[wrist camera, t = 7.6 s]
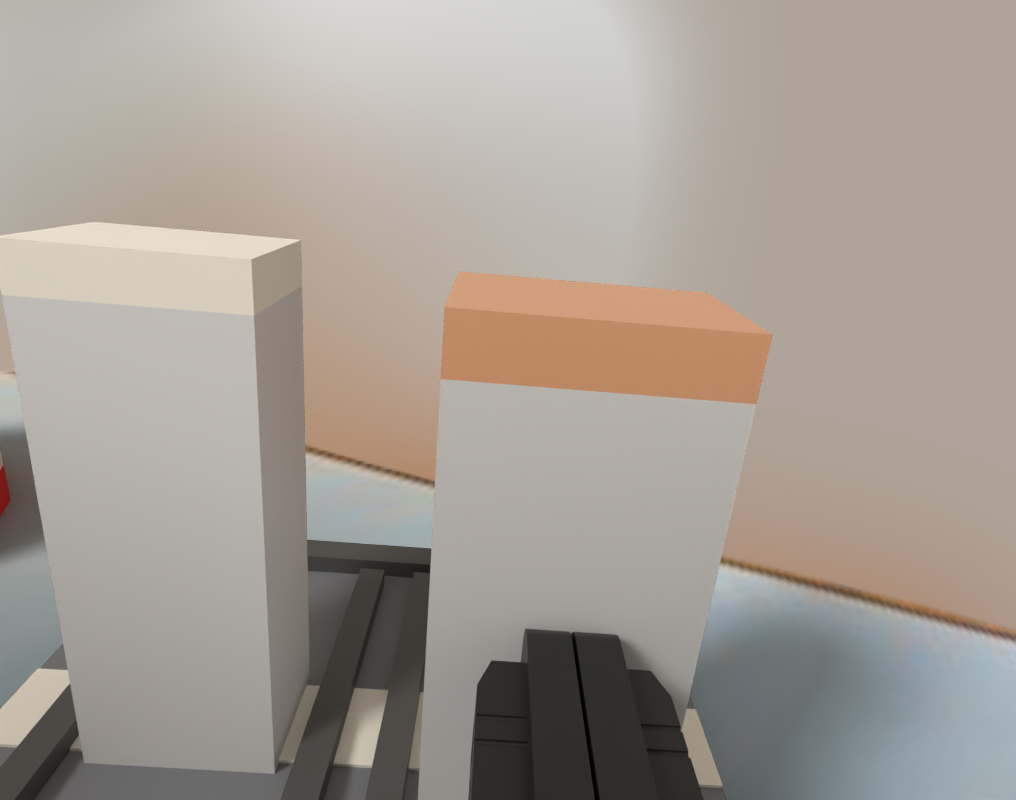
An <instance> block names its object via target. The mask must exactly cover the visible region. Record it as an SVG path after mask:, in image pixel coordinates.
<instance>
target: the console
mask: <svg viewBox="0 0 1016 800" xmlns="http://www.w3.org/2000/svg"><path fill="white" fill-rule="evenodd" d="M301 260H302V258H301V240H295V239H283V238H273V237H261V236H250V235H238V234H227V233H215V232H204V231H203V232H202V231H192V230H180V229H168V228H157V227H145V226H135V225H122V224H111V223H100V222H91V223H85V224H77V225H70V226H63V227H56V228H49V229H43V230H36V231H29V232H22V233H15V234H9V235H2V236H0V288H1V294H2V299H3V305H4V311H5V317H6V322H7V328H8V334H9V339H10V345H11V350H12V356H13V362H14V368H15V374H16V379H17V385H18V391H19V396H20V402H21V408H22V413H23V419H24V425H25V430H26V436H27V442H28V447H29V453H30V459H31V464H32V470H33V476H34V482H35V487H36V493H37V499H38V504H39V510H40V516H41V521H42V527H43V533H44V538H45V544H46V550H47V555H48V561H49V567H50V572H51V578H52V584H53V589H54V595H55V601H56V606H57V612H58V618H59V623H60V629H61V635H62V640H63V644H62V645H61V646H60V648H59V649H58V650H57V651H56V652H55V653H54V654H53V655H52V656H51V657H50V659H49V660H48V661H47V662H46V663H45V664H44V665H43V666H42V667H41V668H37V670H36V671H35V672H34V673H33V674H32V675H31V676H30V677H29V678H28V679H27V680H26V682H25V683H24V684H23V685H22V686H21V687H20V688H19V689H18V690H17V691H16V692H15V694H14V695H13V696H12V697H11V698H10V699H9V700H8V701H7V702H6V703H5V704H4V705H3V707H2V708H1V709H0V800H418V787H419V768H420V750H421V732H422V713H423V695H424V677H425V658H426V640H427V622H428V603H429V585H430V567H431V549H430V548H415V547H401V546H387V545H373V544H358V543H344V542H330V541H316V540H307V510H306V459H305V409H304V363H303V362H304V359H303V312H302V311H303V310H302V261H301ZM681 732H683V735H684V738H685V742H686V745H687V748H688V756H689V758H691V761H692V764H693V767H694V770H695V774H696V777H697V780H698V783H699V786H700V790H701V793H702V796H703V799H704V800H726V798H725V795H724V792H723V789H722V788H723V784H722V781H721V779H720V776H719V773H718V770H717V767H716V765H715V762H714V759H713V756H712V753H711V750H710V748H709V745H708V742H707V739H706V736H705V733H704V731H703V728H702V725H701V722H700V719H699V716H698V714H697V711H696V709H694V706H693V704H692V701H691V698H690V696H689V700H688V705H687V709H686V713H685V718H684V722H683V726H682V731H681Z"/></svg>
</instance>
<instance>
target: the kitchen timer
mask: <svg viewBox="0 0 1016 800" xmlns="http://www.w3.org/2000/svg"><path fill="white" fill-rule="evenodd" d="M9 501H10V496H9V491H8V485H7V480H6V475H5V469H4V464H3V459H2V454H1V449H0V517H1V515H2V513H3V512H4V510H5V508H6V506H7V505H8V503H9Z"/></svg>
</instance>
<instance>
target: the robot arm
mask: <svg viewBox="0 0 1016 800" xmlns="http://www.w3.org/2000/svg"><path fill="white" fill-rule="evenodd" d="M468 800H704V799H703V796H702V793H701V790H700V786H699V783H698V780H697V777H696V774H695V770H694V767H693V764H692V761H691V758H689V756H688V748H687V745H686V742H685V738H684V735H683V732H681V726H680V722H679V719H678V716H677V713H676V710H675V706H674V703H673V700H672V697H671V695H670V694H669V693H668V692H667V691H666V689H665V688H664V687H663V686H662V684H661V683H660V682H659V681H658V679H657V678H656V677H655V676H654V674H653V673H652V672H651V671H648V670H633V669H627V667H626V662H625V658H624V654H623V650H622V646H621V642H620V639H619V636H618V635H616V634H601V633H586V632H572V633H570V632H569V631H554V630H539V629H525V631H524V637H523V646H522V654H521V662H508V661H493V660H492V661H491V662H490V664H489V666H488V667H487V669H486V671H485V672H484V674H483V676H482V677H481V679H480V680H479V682H478V684H477V692H476V703H475V714H474V725H473V737H472V748H471V760H470V777H469V795H468Z"/></svg>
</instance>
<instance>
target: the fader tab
mask: <svg viewBox="0 0 1016 800" xmlns="http://www.w3.org/2000/svg"><path fill="white" fill-rule="evenodd" d="M771 338H772V334H771V333H769V332H768V331H766V330H764V329H763V328H761V327H760V326H758V325H756V324H755V323H753V322H752V321H750V320H749V319H747V318H746V317H744V316H742V315H741V314H739V313H738V312H736V311H734V310H733V309H732V308H730V307H728V306H727V305H725V304H724V303H722V302H720V301H719V300H717V299H716V298H714V297H713V296H711V295H709V294H708V293H703V292H691V291H680V290H668V289H656V288H645V287H634V286H622V285H610V284H599V283H587V282H576V281H564V280H552V279H541V278H529V277H517V276H505V275H494V274H482V273H471V272H458V275H457V277H456V280H455V282H454V285H453V287H452V290H451V293H450V295H449V298H448V300H447V303H446V305H445V310H444V329H443V347H442V365H441V366H442V367H441V384H440V402H439V420H438V439H437V457H436V476H435V494H434V512H433V530H432V548H431V567H430V585H429V603H428V622H427V640H426V658H425V677H424V695H423V713H422V732H421V750H420V768H419V787H418V800H468V795H469V777H470V760H471V748H472V737H473V725H474V714H475V703H476V692H477V684H478V682H479V680H480V679H481V677H482V676H483V674H484V672H485V671H486V669H487V667H488V666H489V664H490V662H491V661H492V660H493V661H508V662H521V654H522V646H523V637H524V631H525V629H539V630H554V631H569V632H570V633H572V632H586V633H601V634H616V635H618V636H619V639H620V642H621V646H622V650H623V654H624V658H625V662H626V667H627V669H633V670H648V671H651V672H652V673H653V674H654V676H655V677H656V678H657V679H658V681H659V682H660V683H661V684H662V686H663V687H664V688H665V689H666V691H667V692H668V693H669V694H670V695H671V697H672V700H673V703H674V706H675V710H676V713H677V716H678V719H679V722H680V726H681V731H682V726H683V722H684V718H685V713H686V709H687V705H688V700H689V696H690V692H691V687H692V683H693V678H694V674H695V670H696V665H697V661H698V657H699V652H700V648H701V644H702V639H703V635H704V631H705V626H706V622H707V617H708V613H709V609H710V604H711V600H712V596H713V591H714V587H715V583H716V578H717V574H718V570H719V565H720V561H721V556H722V552H723V547H724V543H725V539H726V535H727V530H728V526H729V521H730V517H731V513H732V508H733V504H734V500H735V495H736V491H737V487H738V482H739V478H740V473H741V469H742V464H743V460H744V456H745V452H746V447H747V443H748V439H749V434H750V430H751V425H752V421H753V416H754V413H755V408H756V403H757V399H758V395H759V390H760V386H761V382H762V377H763V373H764V369H765V365H766V360H767V356H768V352H769V347H770V343H771Z"/></svg>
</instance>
